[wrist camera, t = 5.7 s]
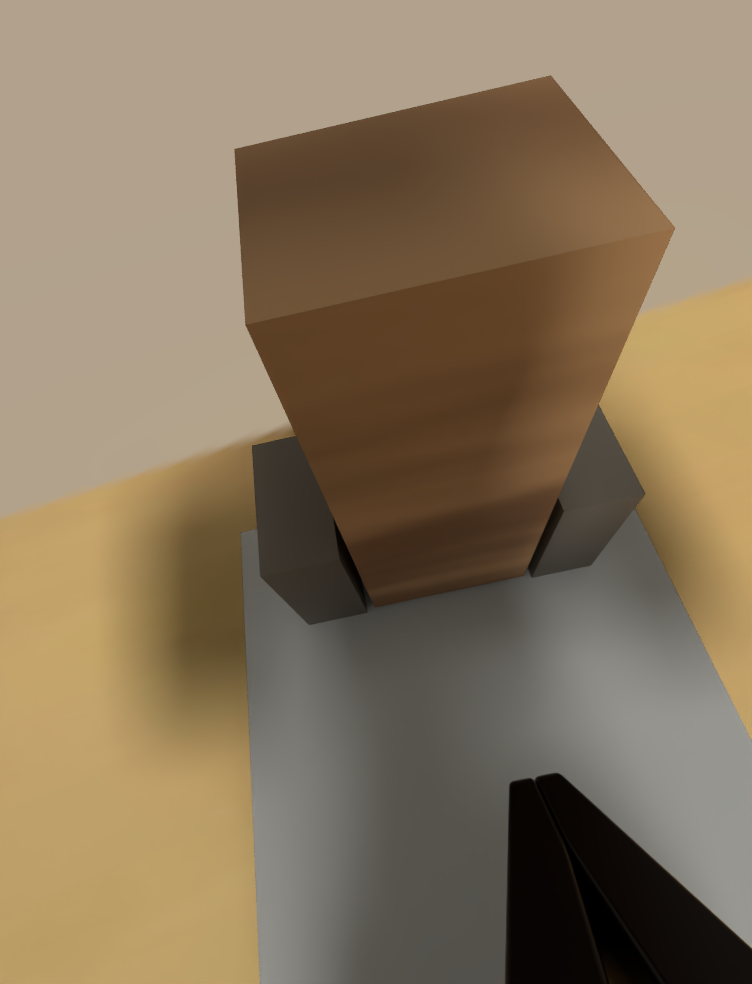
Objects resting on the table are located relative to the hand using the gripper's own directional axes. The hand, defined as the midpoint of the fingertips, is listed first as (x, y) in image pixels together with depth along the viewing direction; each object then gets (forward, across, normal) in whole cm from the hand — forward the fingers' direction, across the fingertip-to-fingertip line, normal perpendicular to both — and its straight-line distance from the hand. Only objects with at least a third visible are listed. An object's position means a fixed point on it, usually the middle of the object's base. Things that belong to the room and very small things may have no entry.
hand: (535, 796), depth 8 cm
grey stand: (+7, 0, +3) cm, 8 cm away
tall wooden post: (+10, 0, -1) cm, 10 cm away
